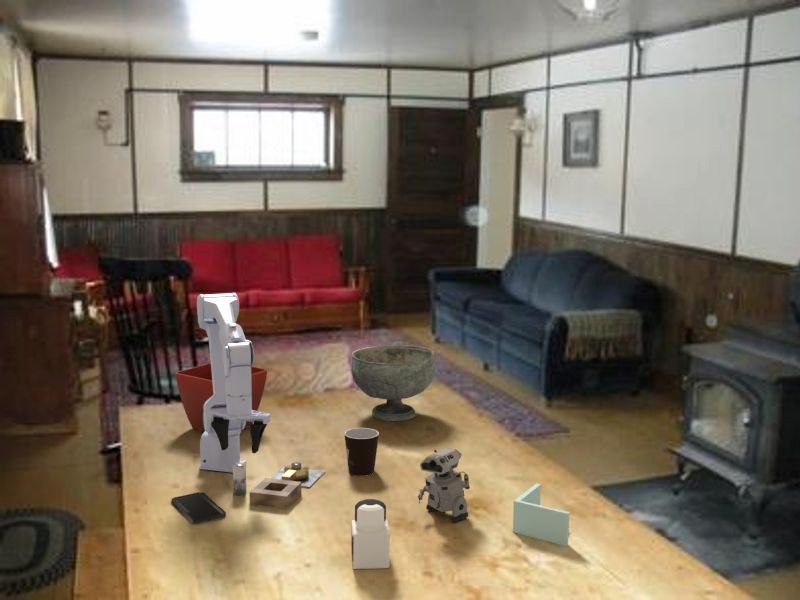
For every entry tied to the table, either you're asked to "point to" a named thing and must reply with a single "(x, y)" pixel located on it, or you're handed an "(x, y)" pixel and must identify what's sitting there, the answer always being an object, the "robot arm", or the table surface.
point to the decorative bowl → (393, 376)
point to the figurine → (445, 484)
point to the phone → (198, 508)
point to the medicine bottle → (370, 536)
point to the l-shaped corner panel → (539, 518)
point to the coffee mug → (361, 450)
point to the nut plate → (306, 481)
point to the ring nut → (295, 472)
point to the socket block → (275, 493)
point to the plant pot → (210, 391)
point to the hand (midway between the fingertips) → (240, 450)
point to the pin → (239, 479)
